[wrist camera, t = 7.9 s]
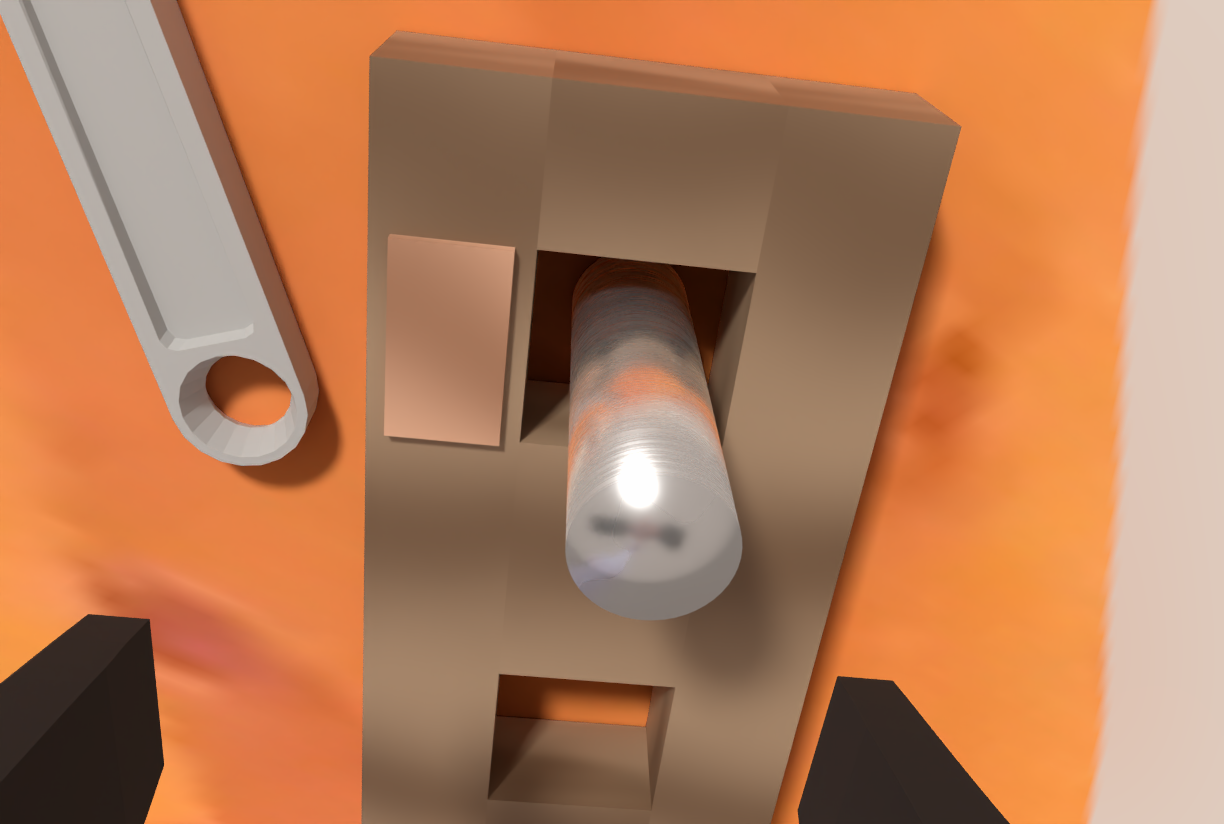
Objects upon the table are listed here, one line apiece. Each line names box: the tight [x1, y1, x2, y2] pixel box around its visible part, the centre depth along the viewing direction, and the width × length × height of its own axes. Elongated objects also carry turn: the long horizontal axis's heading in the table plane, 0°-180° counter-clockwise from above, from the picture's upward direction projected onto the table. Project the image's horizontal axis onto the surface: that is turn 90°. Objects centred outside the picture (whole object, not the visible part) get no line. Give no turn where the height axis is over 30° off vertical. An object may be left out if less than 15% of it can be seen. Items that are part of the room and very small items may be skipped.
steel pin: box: [565, 257, 742, 620], centre depth 16 cm, size 2×2×8 cm
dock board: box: [362, 31, 961, 824], centre depth 21 cm, size 18×9×3 cm, turn 173°
